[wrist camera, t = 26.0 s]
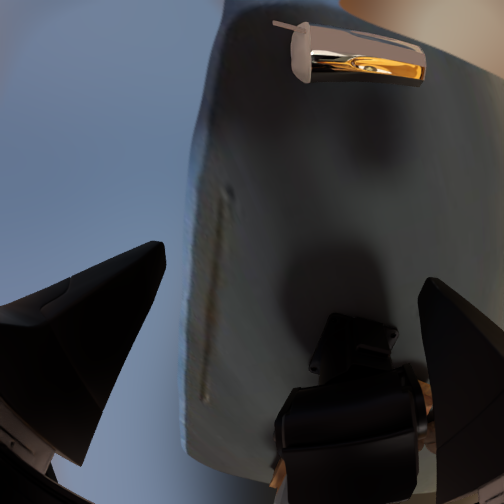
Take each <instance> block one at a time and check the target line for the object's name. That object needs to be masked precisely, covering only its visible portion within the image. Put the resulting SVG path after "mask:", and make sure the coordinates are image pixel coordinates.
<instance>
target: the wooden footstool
mask: <svg viewBox="0 0 504 504" xmlns="http://www.w3.org/2000/svg"><path fill="white" fill-rule="evenodd" d="M285 472H286V467H285V462H284V461H283V460H282V459H281V458H280V460H279V462H278V464H277V466H276V468H275V470H274V474H273V478H272V480H271V482H270V487H274V488H278V487H279V485H280V483H281V481H282V479H283V477H284V475H285Z"/></svg>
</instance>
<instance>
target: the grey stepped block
mask: <svg viewBox="0 0 504 504" xmlns="http://www.w3.org/2000/svg"><path fill="white" fill-rule="evenodd" d="M274 504H289V503H288V493H287V474H286V472H285V475H284V477H283V479H282V481H281V483H280V485H279V487H278V489H277V493H276V497H275V501H274Z"/></svg>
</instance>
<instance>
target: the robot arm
mask: <svg viewBox="0 0 504 504" xmlns="http://www.w3.org/2000/svg"><path fill="white" fill-rule="evenodd" d="M165 270H166V255H165V246H164V244H163V242H159V241H150V242H147V243H145V244H143V245H140V246H138V247H136V248H133V249H131V250H129V251H127V252H124V253H122V254H119V255H117V256H115V257H113V258H110V259H108V260H106V261H104V262H102V263H99V264H97V265H95V266H93V267H91V268H88V269H86V270H84V271H82V272H80V273H77V274H75V275H73V276H72V277H71V278H70V277H69V278H67V279H64V280H62V281H60V282H58V283H56V284H54V285H51V286H50V287H47V288H45V289H42V290H40V291H37V292H35V293H33V294H30V295H28V296H26V297H23V298H21V299H18V300H16V301H13V302H11V303H9V304H6V305H3V306H0V504H95V503H93V502H91V501H89V500H87V499H85V498H83V497H81V496H79V495H77V494H75V493H74V492H72V491H70V490H68V489H67V488H65V487H63V486H62V485H60V484H58V481H57V479H56V476H55V473H54V470H53V467H52V464H51V460H52V458H53V456H54V453H57V454H58V455H60V456H62V457H64V458H65V459H67V460H69V461H71V462H73V463H74V464H76V465H78V466H80V467H81V466H82V464H83V462H84V459H85V456H86V454H87V451H88V448H89V446H90V443H91V440H92V438H93V435H94V433H95V430H96V428H97V425H98V423H99V420H100V418H101V415H102V413H103V412H102V411H103V410H104V408H105V405H106V403H107V401H108V398H109V396H110V393H111V391H112V389H113V387H114V385H115V382H116V380H117V378H118V375H119V373H120V371H121V369H122V367H123V365H124V362H125V360H126V358H127V356H128V354H129V351H130V350H131V347H132V345H133V343H134V341H135V339H136V337H137V335H138V333H139V331H140V329H141V327H142V324H143V323H144V321H145V318H146V316H147V314H148V312H149V310H150V308H151V306H152V304H153V301H154V299H155V296H156V293H157V291H158V288H159V285H160V283H161V280H162V278H163V275H164V272H165ZM418 308H419V316H420V324H421V333H422V340H423V346H424V351H425V356H426V362H427V368H428V374H429V380H430V387H431V394H432V403H433V412H434V422H435V435H436V449H437V450H436V458H437V491H436V504H447V503H450V502H453V501H456V500H459V499H462V498H465V497H468V496H471V495H473V494H476V493H478V498H479V502H478V503H475V504H504V332H503V330H502V329H501V328H500V327H498V326H497V325H496V324H495V323H494V322H493V321H491V320H490V319H489V318H488V317H487V316H485V315H484V314H483V313H482V312H481V311H479V310H478V309H477V308H476V307H475V306H473V305H472V304H471V303H470V302H468V301H467V300H466V299H465V298H463V297H462V296H461V295H459V294H458V293H457V292H456V291H454V290H453V289H452V288H450V287H449V286H448V285H446V284H445V283H444V282H443V281H441V280H440V279H438V278H433V277H428V278H427V279H426V281H425V283H424V285H423V287H422V289H421V291H420V294H419V296H418ZM333 318H337V320H336V321H333V320H332V319H333ZM393 333H395V335H393V336H391V334H393ZM398 336H399V333H398V330H397V329H395V328H391V327H387V326H383V324H382V323H379V322H375V321H371V320H367V319H363V318H360V317H355V318H353V317H349V316H345V315H342V314H338V313H333V314H331V315H330V316H329V318H328V321H327V323H326V326H325V328H324V331H323V333H322V336H321V338H320V341H319V343H318V345H317V348H316V350H315V352H314V355H313V357H312V359H311V362H310V364H309V371H310V372H311V373H315V374H319V375H320V376H319V386H313V387H306V388H301V387H298V388H293V389H292V391H291V393H290V395H289V396H288V398H287V400H286V402H285V403H284V405H283V407H282V409H281V410H280V412H279V414H278V416H277V418H276V420H275V431H274V433H273V440H274V441H275V442H276V446H277V450H278V454H279V456H280V458H281V459H282V460H283V461H284V462H285V467H286V474H287V493H288V503H289V504H400V502H404V501H408V500H409V499H410V497H411V495H412V493H413V491H414V489H415V487H416V485H417V476H418V473H419V457H418V440H420V439H423V438H426V437H427V412H426V405H425V400H424V395H423V392H422V388H421V386H420V383H419V381H418V379H417V377H416V375H415V373H414V371H413V369H412V367H411V365H410V363H408V364H404V365H402V367H399V368H395V369H393V366H392V362H391V357H390V354H391V350H392V348H393V346H394V344H395V342H396V340H397V338H398ZM312 367H316V368H312Z"/></svg>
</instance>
